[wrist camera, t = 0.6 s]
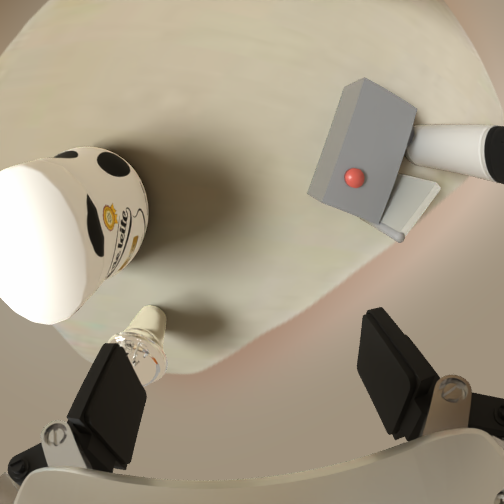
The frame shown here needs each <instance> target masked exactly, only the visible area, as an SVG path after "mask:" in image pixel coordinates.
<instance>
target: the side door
mask: <svg viewBox="0 0 504 504" xmlns="http://www.w3.org/2000/svg"><path fill="white" fill-rule="evenodd" d="M440 189H441V188H440V186H439V185H438V183H437V182H433V181H429V180H425V179H421V178H417V177H412V176H408V175H404V174H399V173H398V174H397V177H396V180H395V183H394V185H393V188H392V191H391V194H390V196H389V199H388V202H387V204H386V207H385V209H384V212H383V214H382V217H381V219H380V222H379V224H378V225H377V224H374V223H372V222H370V221H367V220H365V219H362V218H360V219H362V220H363V221H365V222H367V223H368V224H370V225H371V226H373V227H375V228H376V229H378V230H380V231H381V232H383V233H384V234H386V235H387V236H389V237H391V238H392V239H394V240H395V241H397V242H398V243H401V242H403V241H404V239H405V236H406V235H407V234H408V232H409V231H410V230H411V229H412V227H413V226H414V225H415V223H416V222H417V221H418V219H419V218H420V217H421V215H422V214H423V213H424V211H425V210H426V209H427V207H428V206H429V205H430V203H431V202H432V200H433V199H434V198H435V196H436V195H437V193H438V192H439V191H440Z"/></svg>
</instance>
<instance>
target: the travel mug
mask: <svg viewBox="0 0 504 504" xmlns="http://www.w3.org/2000/svg"><path fill="white" fill-rule="evenodd" d="M413 126H414V130H415V132H414V137H413V140H412V142H411V143H410V145H409V146H408V147H407V148H406V150H405V156H406V157H407V159H408V160H409V161H410V162H411V163H413V164H415V165H418V166H424V167H429V168H435V169H440V170H445V171H450V172H455V173H459V174H464V175H468V176H473V177H477V178H481V179H485V180H489V181H493V182H497V183H502V184H504V126H496V125H475V124H433V125H413Z"/></svg>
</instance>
